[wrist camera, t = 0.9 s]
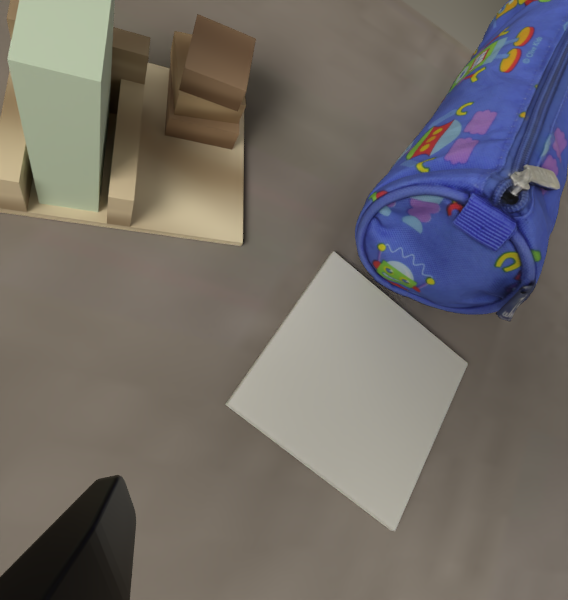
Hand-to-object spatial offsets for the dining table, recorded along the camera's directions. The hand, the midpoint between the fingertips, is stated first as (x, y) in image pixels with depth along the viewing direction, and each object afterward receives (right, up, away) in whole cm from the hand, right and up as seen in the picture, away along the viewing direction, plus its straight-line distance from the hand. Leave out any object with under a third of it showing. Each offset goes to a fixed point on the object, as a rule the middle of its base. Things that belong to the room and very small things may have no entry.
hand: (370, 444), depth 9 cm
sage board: (-11, +9, +13) cm, 19 cm away
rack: (-9, +10, +15) cm, 20 cm away
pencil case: (+9, +11, +23) cm, 26 cm away
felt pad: (+2, -2, +15) cm, 16 cm away
